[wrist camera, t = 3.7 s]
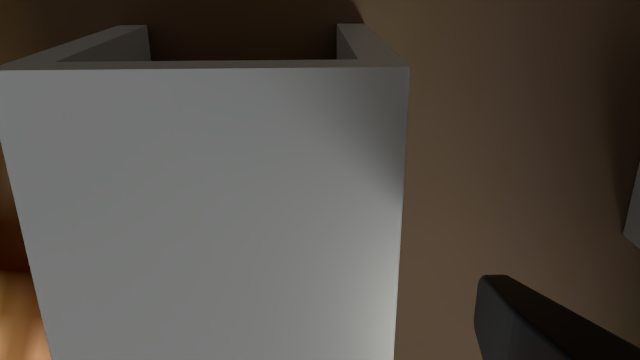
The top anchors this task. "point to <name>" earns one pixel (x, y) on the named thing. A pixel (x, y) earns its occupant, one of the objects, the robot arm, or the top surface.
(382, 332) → the grey arch block
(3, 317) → the top surface
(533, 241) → the top surface
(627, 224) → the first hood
